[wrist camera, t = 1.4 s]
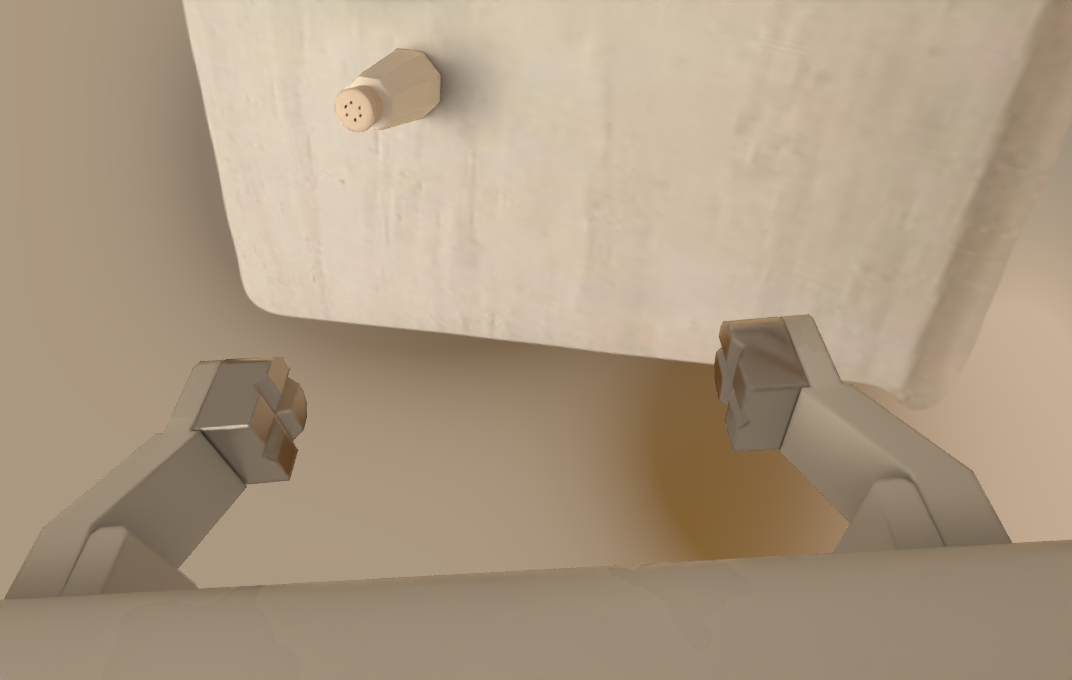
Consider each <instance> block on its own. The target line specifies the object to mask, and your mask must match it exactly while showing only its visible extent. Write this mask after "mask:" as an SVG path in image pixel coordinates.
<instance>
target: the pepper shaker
mask: <svg viewBox="0 0 1072 680" xmlns="http://www.w3.org/2000/svg"><path fill="white" fill-rule="evenodd" d="M440 82H441V75H440V73H439V72H438V71H437V70H436V68H435V67H434V66H433V64H432V63H431V62H430V61H429V59H428V58H427V57H426V55H425V54H424V53H423V52H418V51H411V50H404V49H396V50H395V51H393V52H392V53H390V54H389V55H387V56H386V57H385V58H383V59H382V60H380V61H379V62H377V63H376V64H374V65H373V66H372V67H370V68H369V69H367V70H366V71H364V72H363V73H362V74H360V75H359V76H358V77H357V78H356V79H355V80H354V81H353V82H352V83H351V84H350V85H349V86H348V87H347V88H346V89H344V90H342V91H341V92H340V93H339V94H338V96H337V97H336V100H335V112H336V116H337V118H338V119H339V121H340V122H341V124H342V125H343V126H344V127H346V128H347V129H348V130H351V131H353V132H364V131H366V130H368V129H375V130H384V129H387V128H391V127H394V126H398V125H401V124H405V123H408V122H411V121H415V120H418V119H422V118H423V117H424V116H425V115H426V114H428V113H429V112H430V111H431V110H432V109H433V108H434V107H435V106H436V105H438V104H439V103H440Z"/></svg>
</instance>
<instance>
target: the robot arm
mask: <svg viewBox="0 0 1072 680" xmlns="http://www.w3.org/2000/svg"><path fill="white" fill-rule="evenodd" d="M719 338H720V342H721V346H722V348H720V349H719V350H718V351H717V352H716V357H715V364H714V367H715V383H716V389H717V393H718V397H719V401H720V402H721V403H722V404H724V405H725V406H726V407H727V412H726V417H725V424H726V428H727V432H728V435H729V439H730V443H731V446H732V450H733V451H754V450H776V449H777V450H780V449H781V450H780V452H781V453H782V454H783V455H784V456H785V457H786V458H787V459H788V460H789V461H790V462H791V463H792V464H793V465H794V467H795V468H796V469H797V470H798V471H799V472H800V473H801V474H802V475H803V476H804V477H805V478H806V479H807V480H808V481H809V482H810V483H811V484H812V485H813V486H814V487H815V488H816V489H817V490H818V491H819V492H820V493H821V494H822V495H823V496H824V497H825V498H826V499H827V500H828V501H829V502H830V503H831V504H832V505H833V506H834V507H835V508H836V509H837V510H838V511H839V512H840V514H841V515H843V517H844V518H845V519H846V520H848V522H849V523H850V524H849V526H848V528H847V529H846V531H845V533H844V535H843V536H842V538H841V540H840V541H839V543H838V545H837V547H836V548H835V550H834V552H833V553H829V554H813V555H812V554H811V555H793V556H775V557H759V558H741V559H722V560H705V561H687V562H668V563H652V564H651V563H650V564H633V565H614V566H596V567H578V568H562V569H561V568H560V569H542V570H524V571H505V572H489V573H470V574H455V575H454V574H453V575H434V576H417V577H399V578H382V579H364V580H346V581H328V582H310V583H292V584H274V585H256V586H240V587H221V588H204V589H198V588H197V586H196V584H195V582H193V581H192V580H191V579H190V578H188V577H187V576H186V575H185V574H183V573H182V572H181V571H180V570H178V568H179V567H180V566H181V565H182V563H183V562H184V561H185V560H186V559H187V557H188V556H189V555H190V554H191V553H192V551H193V550H194V549H195V548H196V547H197V546H198V544H199V543H200V542H201V541H202V540H203V538H204V537H205V536H206V535H207V534H208V532H209V531H210V530H211V529H212V528H213V526H214V525H215V524H216V523H217V522H218V521H219V519H220V518H221V517H222V516H223V515H224V513H225V512H226V511H227V510H228V509H229V507H230V506H231V505H232V504H233V503H234V501H235V500H236V499H237V498H238V497H239V495H240V494H241V493H242V492H243V491H244V490H245V488H246V484H257V483H268V482H278V481H289V480H290V477H291V474H292V470H293V467H294V463H295V459H296V455H297V452H298V449H297V448H296V446H295V444H294V442H293V440H294V439H295V438H296V437H297V436H298V435H299V434H300V433H301V432H302V431H303V430H304V426H305V422H306V418H307V402H306V398H305V395H304V391H303V390H302V388H301V386H300V384H299V383H297V382H295V381H294V380H292V379H290V378H288V374H289V371H290V368H289V366H288V365H287V363H286V362H285V360H284V359H283V357H263V358H245V359H226V360H215V361H214V360H213V361H200V362H199V363H198V364H197V365H195V366H194V367H193V369H192V371H191V374H190V376H189V378H188V380H187V382H186V384H185V387H184V389H183V391H182V393H181V395H180V397H179V400H178V402H177V404H176V406H175V409H174V411H173V413H172V415H171V417H170V419H169V422H168V424H167V426H166V429H165V430H164V433H159V434H155V435H154V436H152V437H151V438H150V439H149V440H148V441H146V442H145V443H144V444H143V445H142V446H141V447H139V448H138V449H137V450H136V451H135V452H133V453H132V454H131V455H130V456H128V457H127V458H126V459H125V460H124V461H123V462H121V463H120V464H119V465H118V466H116V467H115V468H114V469H113V470H112V471H110V472H109V473H108V474H107V475H106V476H104V477H103V478H102V479H101V480H100V481H99V482H97V483H96V484H95V485H94V486H93V487H92V488H90V489H89V490H88V491H87V492H85V493H84V494H83V495H82V496H81V497H79V498H78V499H77V500H76V501H75V502H73V503H72V504H71V505H70V506H69V507H68V508H66V509H65V510H64V511H63V512H61V513H60V514H59V515H58V516H57V517H56V518H54V519H53V520H52V521H51V522H49V523H48V524H47V525H46V526H45V527H43V528H42V530H41V532H40V534H39V536H38V537H37V539H36V541H35V543H34V545H33V546H32V548H31V550H30V552H29V554H28V556H27V557H26V559H25V561H24V563H23V565H22V567H21V569H20V571H19V572H18V574H17V576H16V578H15V580H14V581H13V583H12V585H11V587H10V589H9V591H8V593H7V594H6V596H5V598H4V600H0V680H1072V540H1060V541H1042V542H1024V543H1012V542H1011V540H1010V538H1009V536H1008V534H1007V533H1006V531H1005V529H1004V527H1003V525H1002V524H1001V521H1000V520H999V518H998V516H997V514H996V512H995V510H994V509H993V507H992V505H991V503H990V501H989V499H988V498H987V496H986V494H985V492H984V490H983V488H982V487H981V485H980V483H979V481H978V479H977V477H976V476H975V474H974V472H973V471H972V470H970V469H969V468H968V467H966V466H965V465H964V464H962V463H961V462H959V461H958V460H957V459H955V458H954V457H952V456H951V455H950V454H948V453H946V452H945V451H944V450H942V449H941V448H940V447H938V446H937V445H936V444H934V443H933V442H931V441H930V440H929V439H927V438H926V437H924V436H923V435H922V434H920V433H919V432H917V431H916V430H915V429H913V428H912V427H910V426H909V425H907V424H906V423H905V422H903V421H902V420H901V419H899V418H898V417H896V416H895V415H894V414H892V413H891V412H889V411H888V410H887V409H885V408H884V407H882V406H881V405H880V404H878V403H877V402H875V401H874V400H873V399H871V398H870V397H868V396H867V395H866V394H864V393H863V392H861V391H860V390H859V389H857V388H856V387H854V386H853V385H843V384H842V381H841V379H840V377H839V375H838V372H837V370H836V368H835V366H834V363H833V361H832V359H831V357H830V354H829V352H828V350H827V348H826V345H825V343H824V341H823V339H822V336H821V334H820V332H819V330H818V327H817V325H816V323H815V321H814V318H813V317H811V316H810V315H809V314H806V315H794V316H782V317H768V318H757V319H746V320H734V321H723V323H722V325H721V327H720V333H719Z"/></svg>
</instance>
